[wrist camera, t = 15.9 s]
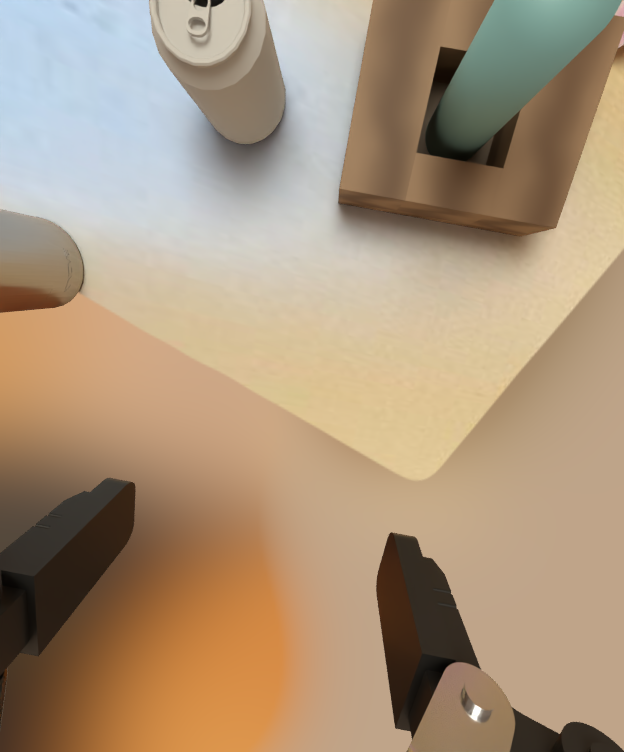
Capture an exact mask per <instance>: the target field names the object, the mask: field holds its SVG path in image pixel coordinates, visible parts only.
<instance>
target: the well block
mask: <svg viewBox="0 0 624 752" xmlns="http://www.w3.org/2000/svg"><path fill="white" fill-rule="evenodd" d="M493 2H494V0H373V4H372V9H371V15H370V21H369V26H368V32H367V37H366V43H365V49H364V54H363V60H362V65H361V71H360V76H359V82H358V88H357V93H356V99H355V104H354V110H353V115H352V121H351V127H350V132H349V138H348V143H347V149H346V154H345V160H344V166H343V171H342V177H341V182H340V188H339V201H338V203H341V204H346V205H352V206H357V207H363V208H368V209H374V210H379V211H385V212H390V213H396V214H401V215H407V216H412V217H417V218H423V219H428V220H434V221H439V222H445V223H450V224H456V225H461V226H467V227H472V228H478V229H483V230H489V231H494V232H500V233H505V234H511V235H516V236H524V235H528V234H532V233H537V232H541V231H545V230H549V229H554V228H556V226H557V223H558V220H559V217H560V215H561V212H562V209H563V206H564V203H565V200H566V197H567V194H568V191H569V188H570V186H571V183H572V180H573V177H574V174H575V171H576V168H577V165H578V162H579V160H580V157H581V154H582V151H583V148H584V145H585V142H586V139H587V136H588V133H589V131H590V128H591V125H592V122H593V119H594V116H595V113H596V110H597V107H598V104H599V102H600V99H601V96H602V93H603V90H604V87H605V84H606V81H607V78H608V75H609V73H610V70H611V67H612V64H613V61H614V58H615V55H616V52H617V49H618V46H619V44H620V41H621V38H622V35H623V32H624V17H622V16H617V15H614V16H613V18H612V19H611V21H610V22H609V23H608V25H607V26H606V27H605V28H604V29H603V30H602V31H601V32H600V33H599V34H598V35H597V36H596V37H595V38H594V39H593V40H592V41H591V42H590V43H589V44H588V45H587V46H586V47H585V48H584V49H583V50H582V51H581V52H580V53H579V54H578V55H577V56H576V57H575V58H574V59H572V60H571V61H570V62H569V63H568V64H567V65H566V66H565V67H564V68H563V69H562V70H561V71H560V72H559V73H558V74H557V75H556V76H555V77H554V78H553V79H552V80H551V81H550V82H549V83H548V84H547V85H546V86H545V87H543V88H542V89H541V90H540V91H539V92H538V93H537V94H536V95H535V96H534V97H533V98H532V99H531V100H530V101H529V102H528V103H527V104H526V105H525V106H524V107H523V108H522V109H521V110H520V111H519V112H518V113H517V114H516V115H514V116H513V117H512V118H511V119H510V120H509V121H508V122H507V123H506V124H505V125H504V126H503V127H502V128H501V129H500V130H499V131H498V132H497V133H496V134H495V135H494V136H493V137H492V138H491V139H490V140H489V141H488V142H487V143H485V144H484V145H483V146H482V147H481V148H480V149H479V150H478V151H477V152H476V153H475V154H474V155H473V156H472V157H471V158H470V159H468V160H467V161H459V160H454V159H448V158H443V157H437V156H432V155H430V154H429V152H428V150H427V146H426V141H425V135H426V129H427V125H428V123H429V121H430V119H431V117H432V115H433V113H434V111H435V109H436V108H437V106H438V104H439V102H440V100H441V98H442V97H443V95H444V93H445V91H446V89H447V87H448V85H449V84H450V82H451V80H452V78H453V76H454V74H455V72H456V71H457V69H458V67H459V65H460V63H461V61H462V59H463V58H464V56H465V54H466V52H467V50H468V48H469V46H470V45H471V43H472V41H473V39H474V37H475V35H476V33H477V32H478V30H479V28H480V26H481V24H482V22H483V21H484V19H485V17H486V15H487V13H488V11H489V9H490V8H491V6H492V4H493Z"/></svg>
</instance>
